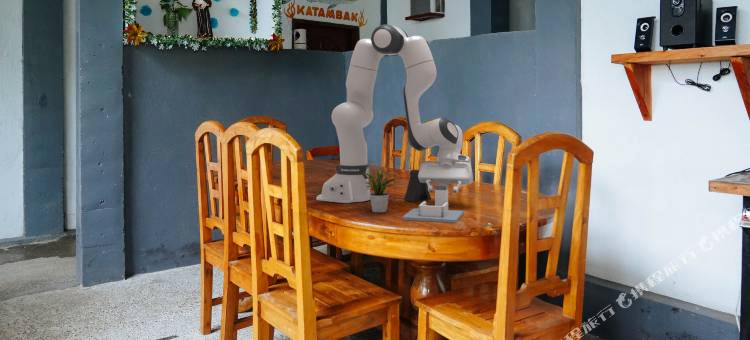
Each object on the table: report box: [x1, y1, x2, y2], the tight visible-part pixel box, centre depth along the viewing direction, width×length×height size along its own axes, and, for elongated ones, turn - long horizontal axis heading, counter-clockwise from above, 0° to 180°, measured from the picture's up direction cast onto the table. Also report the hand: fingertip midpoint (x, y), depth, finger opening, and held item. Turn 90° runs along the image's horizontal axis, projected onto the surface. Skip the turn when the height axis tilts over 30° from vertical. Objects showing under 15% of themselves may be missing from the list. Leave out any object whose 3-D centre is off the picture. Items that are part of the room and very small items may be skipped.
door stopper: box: [403, 169, 432, 203], centre depth 225 cm, size 9×6×12 cm, turn 126°
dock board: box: [402, 201, 465, 224], centre depth 194 cm, size 18×15×4 cm
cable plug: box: [434, 183, 449, 206], centre depth 206 cm, size 4×4×9 cm
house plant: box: [365, 166, 399, 213], centre depth 203 cm, size 14×14×16 cm
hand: (442, 191), depth 207 cm, fingers open, 8 cm apart
